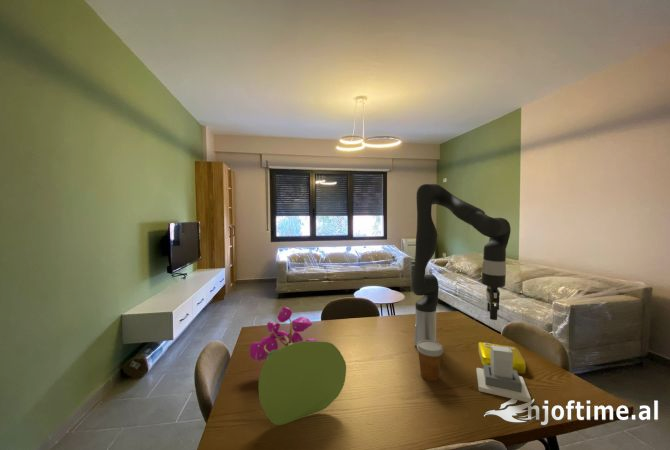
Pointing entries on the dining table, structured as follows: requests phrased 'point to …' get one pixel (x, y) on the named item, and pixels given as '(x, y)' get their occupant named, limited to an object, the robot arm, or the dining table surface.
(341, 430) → the dining table surface
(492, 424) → the dining table surface
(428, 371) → the disposable coffee cup
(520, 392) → the board
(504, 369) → the skincare box
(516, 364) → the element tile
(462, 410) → the dining table surface
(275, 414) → the potted pink orchid
